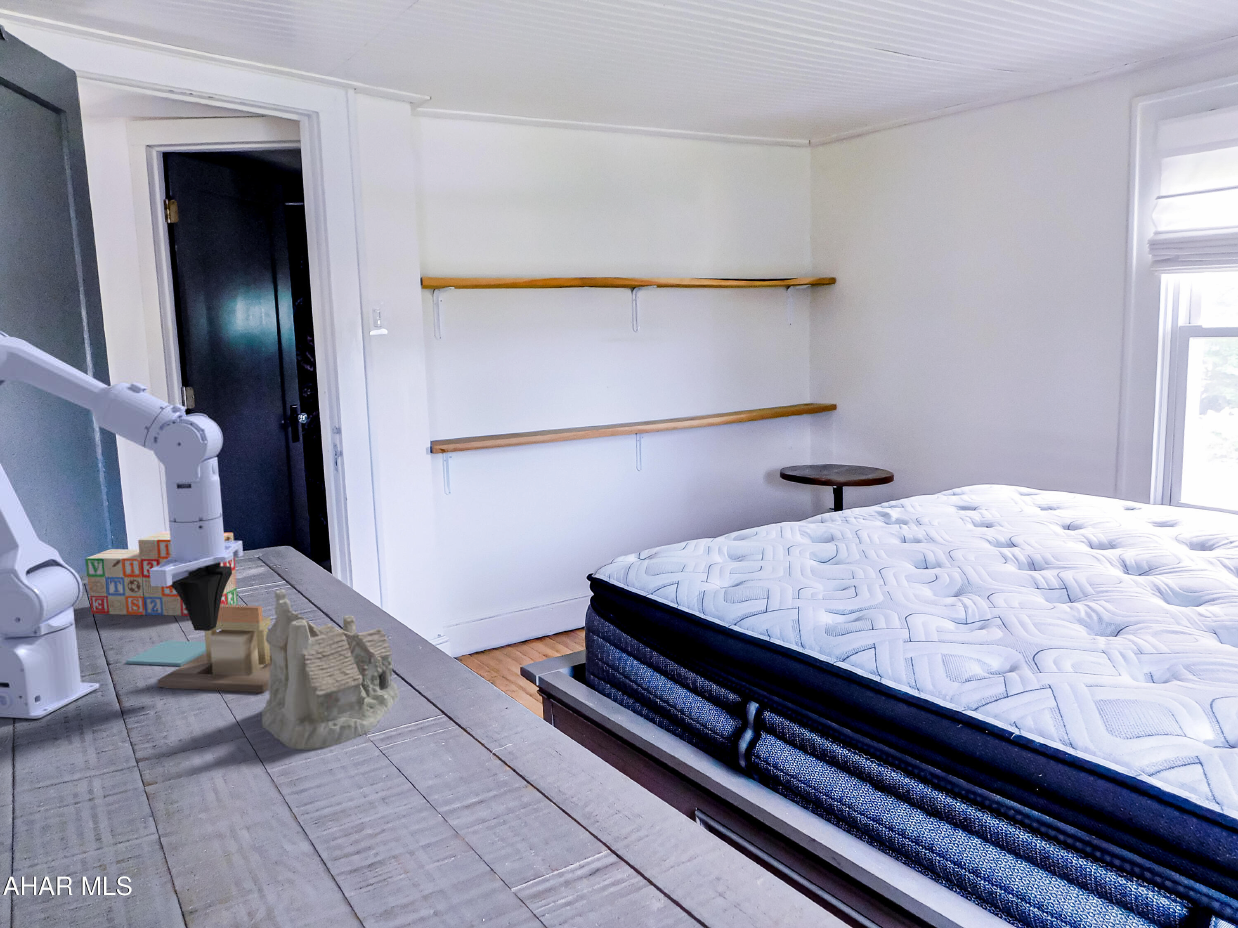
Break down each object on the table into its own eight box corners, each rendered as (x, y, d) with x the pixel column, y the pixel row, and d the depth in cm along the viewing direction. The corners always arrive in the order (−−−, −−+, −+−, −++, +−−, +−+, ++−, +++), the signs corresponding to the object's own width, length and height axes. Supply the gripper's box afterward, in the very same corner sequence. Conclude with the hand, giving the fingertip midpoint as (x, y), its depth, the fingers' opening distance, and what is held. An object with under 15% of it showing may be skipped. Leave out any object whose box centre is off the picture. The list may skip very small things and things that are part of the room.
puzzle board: (263, 692, 104) (262, 684, 104) (158, 687, 106) (157, 679, 106) (338, 640, 123) (338, 633, 122) (248, 636, 125) (247, 629, 125)
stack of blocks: (89, 615, 137) (82, 539, 135) (116, 603, 143) (108, 530, 141) (218, 616, 135) (212, 539, 133) (239, 604, 141) (233, 530, 140)
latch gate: (262, 667, 109) (258, 607, 108) (203, 664, 110) (198, 605, 109) (273, 659, 111) (269, 601, 110) (215, 657, 113) (210, 600, 112)
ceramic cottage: (282, 758, 87) (281, 610, 86) (249, 709, 101) (247, 582, 100) (430, 728, 96) (430, 594, 95) (381, 687, 109) (380, 569, 108)
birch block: (245, 679, 109) (241, 637, 108) (213, 678, 109) (209, 636, 108) (264, 667, 113) (261, 626, 112) (233, 665, 114) (230, 625, 113)
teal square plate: (180, 666, 113) (180, 663, 113) (126, 663, 115) (126, 660, 115) (218, 645, 121) (218, 642, 121) (166, 643, 123) (166, 640, 122)
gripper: (186, 531, 95) (196, 650, 96) (261, 507, 109) (269, 611, 111) (128, 530, 96) (140, 648, 97) (210, 506, 110) (218, 609, 112)
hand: (205, 628), depth 104 cm, fingers closed
